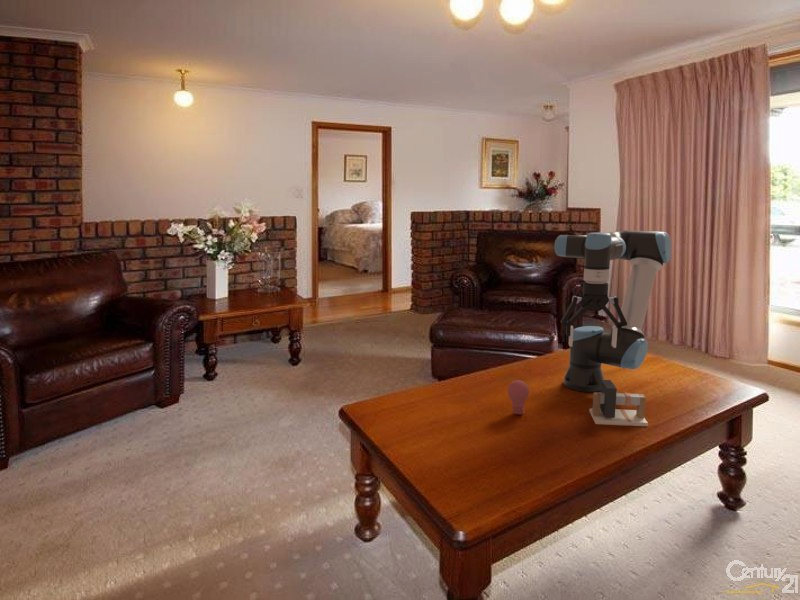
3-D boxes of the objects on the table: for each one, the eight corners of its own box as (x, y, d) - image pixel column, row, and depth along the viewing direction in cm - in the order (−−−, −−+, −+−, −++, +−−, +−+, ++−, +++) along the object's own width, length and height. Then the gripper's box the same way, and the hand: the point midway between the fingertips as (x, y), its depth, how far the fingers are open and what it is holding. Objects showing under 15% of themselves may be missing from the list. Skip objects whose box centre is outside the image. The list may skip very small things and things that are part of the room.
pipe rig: (595, 424, 171) (597, 398, 170) (589, 411, 181) (590, 387, 179) (647, 426, 169) (649, 400, 167) (638, 413, 179) (640, 389, 177)
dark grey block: (605, 417, 172) (606, 388, 170) (599, 407, 179) (601, 379, 177) (614, 417, 171) (616, 388, 169) (608, 407, 179) (610, 380, 177)
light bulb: (504, 410, 183) (505, 377, 181) (524, 409, 184) (525, 376, 181) (510, 418, 176) (511, 385, 174) (531, 417, 177) (532, 384, 174)
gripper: (557, 283, 165) (554, 348, 169) (640, 284, 162) (635, 350, 166) (553, 279, 173) (550, 341, 177) (633, 280, 169) (628, 343, 173)
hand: (591, 346), depth 171 cm, fingers open, 13 cm apart
